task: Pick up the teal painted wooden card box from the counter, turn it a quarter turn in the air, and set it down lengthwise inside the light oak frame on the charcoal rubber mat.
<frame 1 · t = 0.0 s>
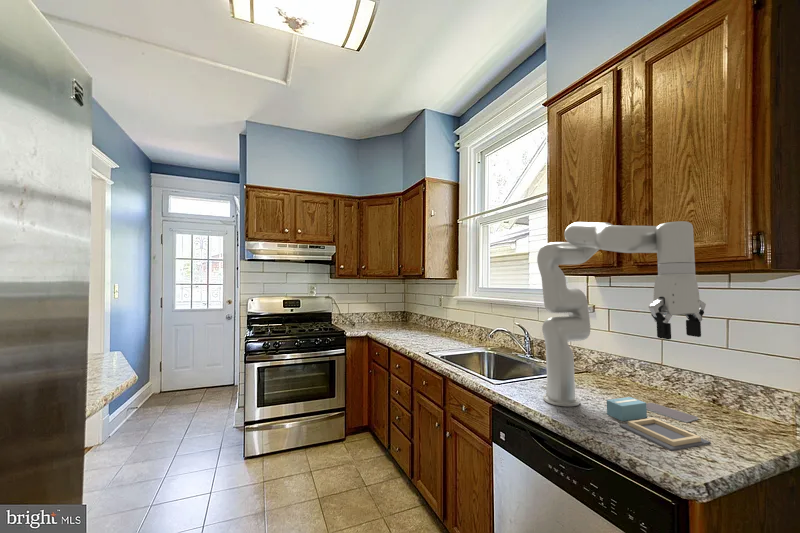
hand: (679, 337, 88), 31 cm above the worktop, tool pointing down, fingers open, 9 cm apart
smartphone: (667, 414, 118), on the worktop
mat: (662, 434, 102), on the worktop
card box: (626, 416, 116), on the worktop
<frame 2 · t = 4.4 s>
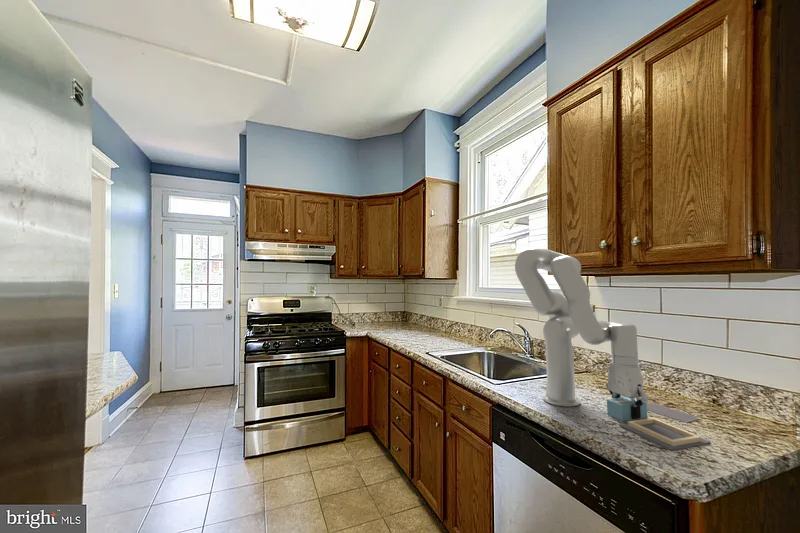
hand: (627, 413, 116), 1 cm above the worktop, tool pointing down, fingers closed on card box, 6 cm apart
card box: (627, 415, 116), on the worktop, touching gripper
everything else where it was.
when the fingers open (3 cm above the worktop, at t = 9.8 s): card box drops 2 cm, resting on mat.
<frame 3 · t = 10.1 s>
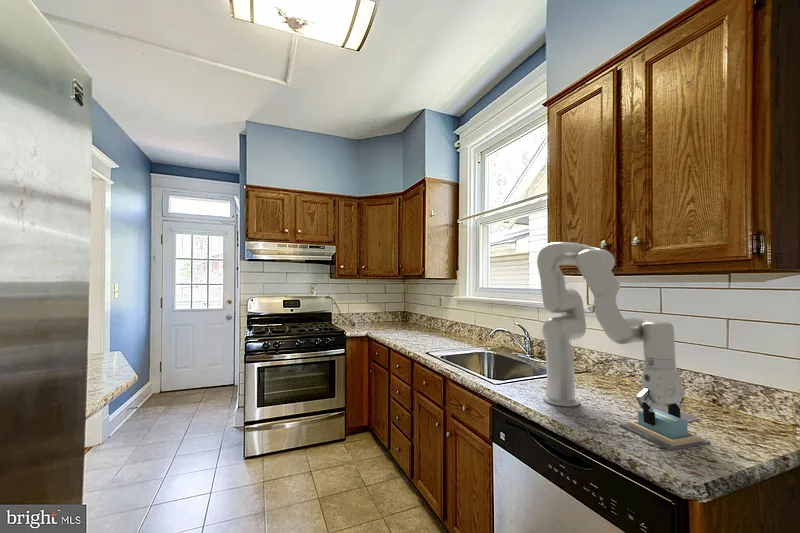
hand: (662, 421, 102), 4 cm above the worktop, tool pointing down, fingers open, 9 cm apart
card box: (662, 432, 102), resting on mat
everything else where it was.
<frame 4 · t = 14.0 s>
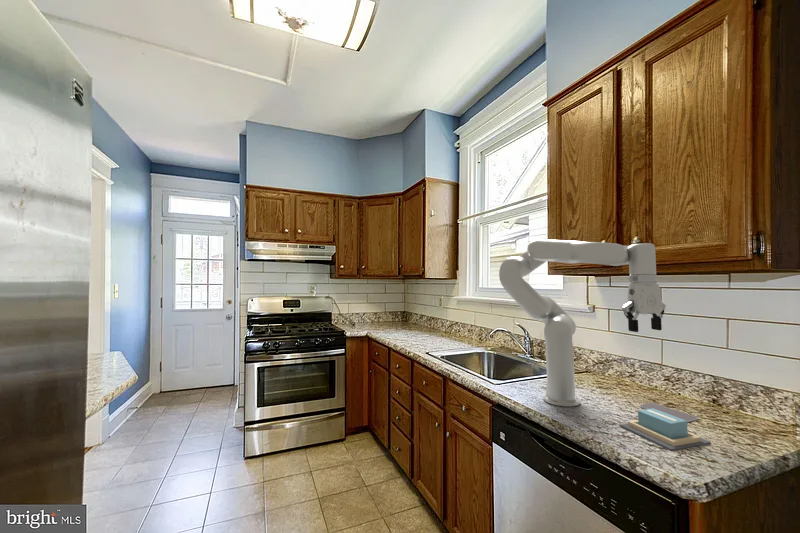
hand: (645, 330, 117), 28 cm above the worktop, tool pointing down, fingers open, 9 cm apart
nothing on the worktop moved.
at the end: card box 0.1 cm off-centre on the mat, point 0.5 cm above the mat's base; card box tilted 0°; the gripper is holding nothing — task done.
